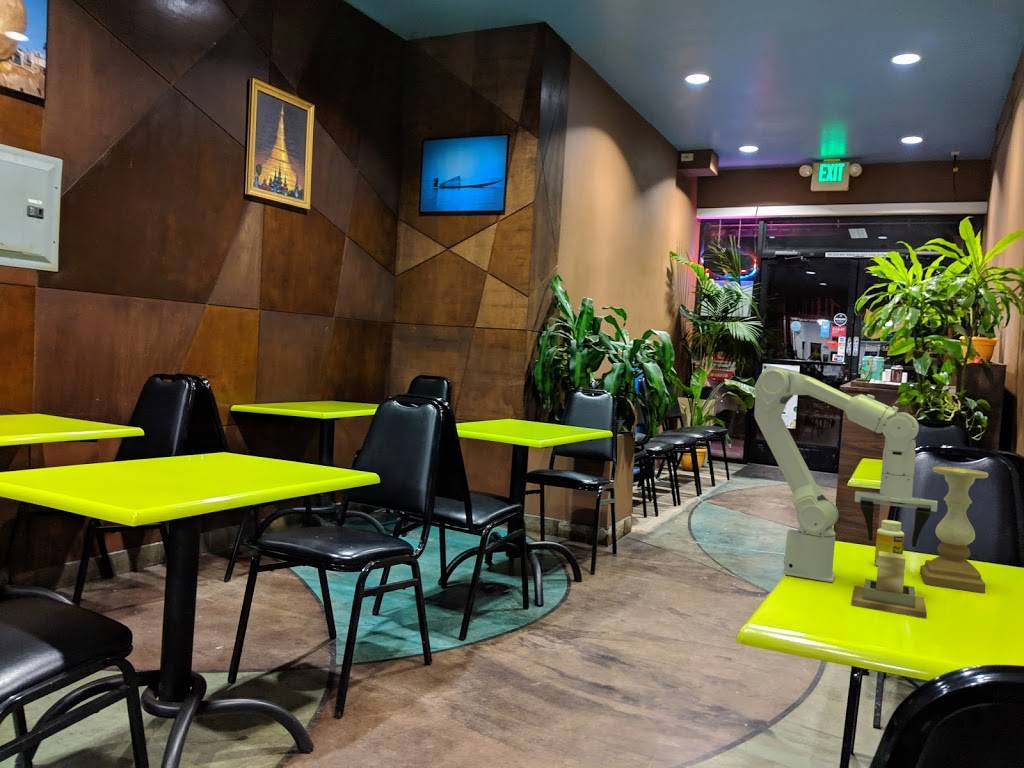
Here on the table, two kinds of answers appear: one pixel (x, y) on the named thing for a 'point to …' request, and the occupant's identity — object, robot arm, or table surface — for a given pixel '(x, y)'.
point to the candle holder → (955, 536)
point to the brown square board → (917, 611)
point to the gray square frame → (889, 595)
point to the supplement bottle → (889, 538)
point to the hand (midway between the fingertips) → (891, 542)
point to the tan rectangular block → (890, 572)
